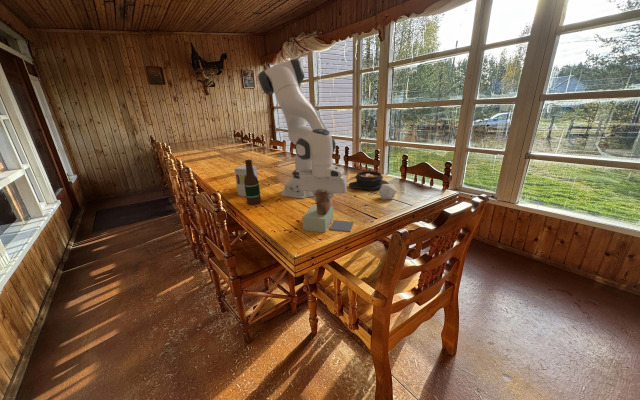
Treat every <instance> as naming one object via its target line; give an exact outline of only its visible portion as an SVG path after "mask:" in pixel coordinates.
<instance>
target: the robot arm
mask: <svg viewBox="0 0 640 400" xmlns="http://www.w3.org/2000/svg"><path fill="white" fill-rule="evenodd" d="M257 77H258V79H257V81H258V86H259V88H260V89H261V90H262V91H263V93H264V94H266V95H273V94H274V96H275V98H276V101H277V104H278V105H279V107H280V109H281V110H282V113H283V115H284V119H285V121H286V127H287V131H288V132H287V138H288V139H289V141H291V143H292V144H294V145H295V148H294V149H295V153H296V154H295V156H294V166H295V167H294V171H293V172H291V175H292V177H291V178H290V179H288V181H286V182H285V184H284V187H283V188H284V189H283V190H281V191H280V196H283V197H289V198H295V199H305V198H309V197H313V198H314V202H316V191H317V190H325V191H326V192H327V193H330V197H328V198H327V200H328V201H327V202H330V203H332V200H333V199H332V198H333V196H334V194H341V195H342V194H346V192H347V191H348V181H347V177H346V175H345V168H343V167H342V166H341V167H340V166H338V165H335V164H334V161H333V154H334V153H335V151H336V146H337V145H336V141H335V139H334V137H333V135H332V132H331V131H329V130H328V129H327V127H326V125H325V123H324V122H323V119H322V118H321V116H320V115H319V113H318V111H317V108H316V107H315V105H314V104H313V103H312V102H311V101H309V100H308V99H307V98H306V97H305V95H304V94H303V92H302V90H301V88H300V85H301V84H302V82H304V79H305V69H304V66H303V63H301V61H300V60H299V59H297V58H291V59H289V60H285V61H282V62H280V63H279V62H278V63H276V64H275V65H273V66H271V67H269V68H266V69H265V70H261V72H259V73H258V76H257ZM306 122H307V123H308V124H309V126H307V124H306Z"/></svg>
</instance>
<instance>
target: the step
mask: <svg viewBox="0 0 640 400" xmlns="http://www.w3.org/2000/svg"><path fill="white" fill-rule="evenodd" d="M301 218H302V219H301V220H302V230H303V231H307V232H310V231H311V232H319V233H326V232H327V231H328V229H329V228H330V225H331V224H332V223H333V221H334V220H333V219H334V206H331V205H330V209H329V211H328V212H327V214H317V204H312V205H311V206H310V208H309V209H308V210H307V211H306V212H305V213H304V215H303V216H302V217H301Z"/></svg>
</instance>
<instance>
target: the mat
mask: <svg viewBox="0 0 640 400" xmlns="http://www.w3.org/2000/svg"><path fill="white" fill-rule="evenodd" d="M330 225H331V226H329V228H328V229H329V231H337V232H346V233H347V232H349V233H351V232H352V228H353V225H354V221H347V220H338V219H334V220H332V222H331V224H330Z"/></svg>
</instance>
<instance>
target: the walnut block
mask: <svg viewBox="0 0 640 400" xmlns="http://www.w3.org/2000/svg"><path fill="white" fill-rule="evenodd" d="M330 196H331V195H330V193H327V192H326V191H325V190H317V191H316V201H315V202H316V205H317V214H327V212H328V211H329V209H330V206H331V202H327V201H328V200H327V198H328V197H330Z"/></svg>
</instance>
